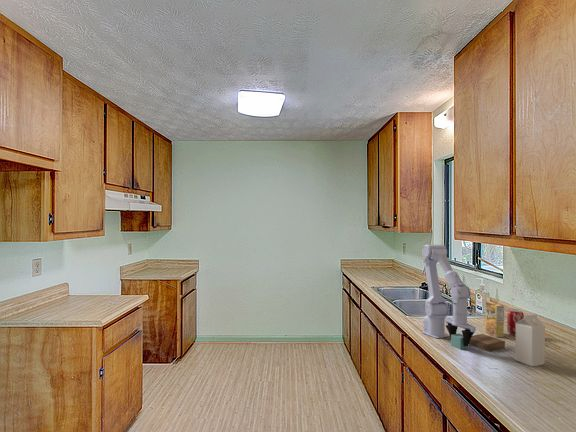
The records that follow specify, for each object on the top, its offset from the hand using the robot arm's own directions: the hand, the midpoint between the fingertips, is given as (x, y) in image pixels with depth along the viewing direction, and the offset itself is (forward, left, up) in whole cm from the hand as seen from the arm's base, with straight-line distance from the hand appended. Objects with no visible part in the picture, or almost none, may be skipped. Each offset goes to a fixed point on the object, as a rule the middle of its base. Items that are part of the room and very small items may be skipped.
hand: (459, 343), depth 166 cm
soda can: (-2, +41, -2) cm, 41 cm away
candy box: (-6, +31, -2) cm, 32 cm away
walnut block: (+4, +12, -2) cm, 13 cm away
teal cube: (0, 0, -2) cm, 2 cm away
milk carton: (+24, +11, -2) cm, 26 cm away
